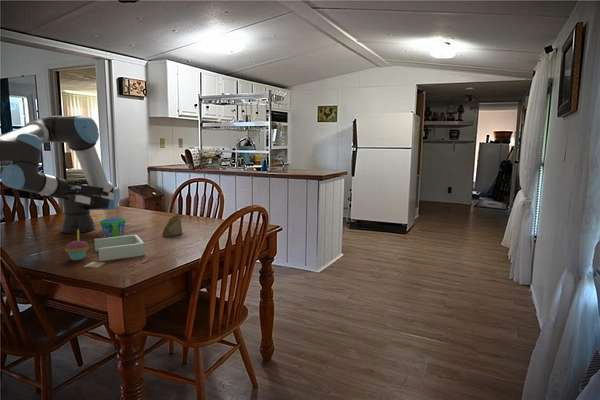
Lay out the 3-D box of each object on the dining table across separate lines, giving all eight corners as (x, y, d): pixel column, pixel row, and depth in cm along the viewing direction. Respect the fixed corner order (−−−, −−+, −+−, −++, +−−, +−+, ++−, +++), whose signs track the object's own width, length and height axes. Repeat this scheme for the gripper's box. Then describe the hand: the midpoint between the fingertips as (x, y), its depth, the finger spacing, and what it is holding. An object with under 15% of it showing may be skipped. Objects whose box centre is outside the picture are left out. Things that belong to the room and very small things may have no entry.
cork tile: (84, 269, 146) (84, 266, 146) (92, 264, 151) (92, 261, 151) (97, 269, 146) (96, 266, 145) (105, 265, 151) (104, 262, 150)
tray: (99, 261, 154) (98, 248, 153) (95, 250, 168) (94, 239, 167) (145, 255, 163) (144, 243, 162) (137, 245, 177) (136, 234, 176)
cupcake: (72, 255, 161) (69, 226, 159) (93, 255, 162) (91, 226, 160) (61, 261, 153) (58, 231, 151) (84, 261, 153) (81, 231, 152)
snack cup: (101, 238, 188) (100, 217, 186) (125, 236, 192) (124, 216, 191) (101, 246, 174) (99, 224, 172) (127, 244, 178) (126, 222, 177)
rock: (161, 233, 189) (182, 229, 192) (158, 218, 193) (179, 214, 196) (163, 242, 198) (184, 238, 202) (161, 227, 202) (181, 223, 205)
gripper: (27, 200, 148) (79, 211, 166) (73, 191, 138) (122, 203, 157) (30, 181, 149) (81, 194, 168) (76, 170, 140) (124, 185, 158)
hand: (101, 199), depth 162 cm, fingers open, 13 cm apart
